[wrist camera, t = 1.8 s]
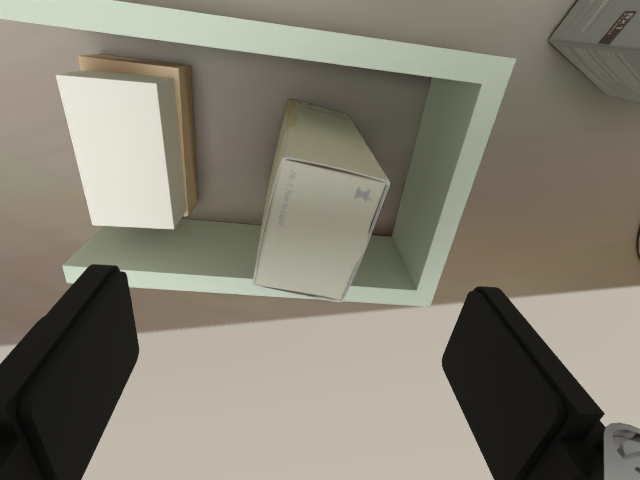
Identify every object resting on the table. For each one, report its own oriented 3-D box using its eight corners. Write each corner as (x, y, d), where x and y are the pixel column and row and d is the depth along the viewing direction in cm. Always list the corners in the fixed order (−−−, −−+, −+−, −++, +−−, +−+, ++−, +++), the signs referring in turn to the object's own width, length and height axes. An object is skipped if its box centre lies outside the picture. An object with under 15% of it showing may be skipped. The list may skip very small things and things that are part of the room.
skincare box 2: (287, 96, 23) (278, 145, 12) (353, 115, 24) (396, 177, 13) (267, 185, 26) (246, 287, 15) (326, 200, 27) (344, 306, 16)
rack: (456, 53, 22) (516, 58, 16) (402, 250, 29) (430, 306, 23) (81, -1, 20) (-14, -19, 14) (119, 227, 27) (66, 282, 21)
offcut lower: (192, 64, 22) (178, 68, 20) (199, 198, 27) (188, 216, 24) (104, 54, 22) (77, 55, 19) (125, 192, 26) (106, 209, 23)
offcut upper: (173, 77, 20) (156, 83, 17) (186, 209, 24) (174, 229, 21) (86, 70, 19) (55, 74, 17) (114, 205, 23) (92, 225, 21)
